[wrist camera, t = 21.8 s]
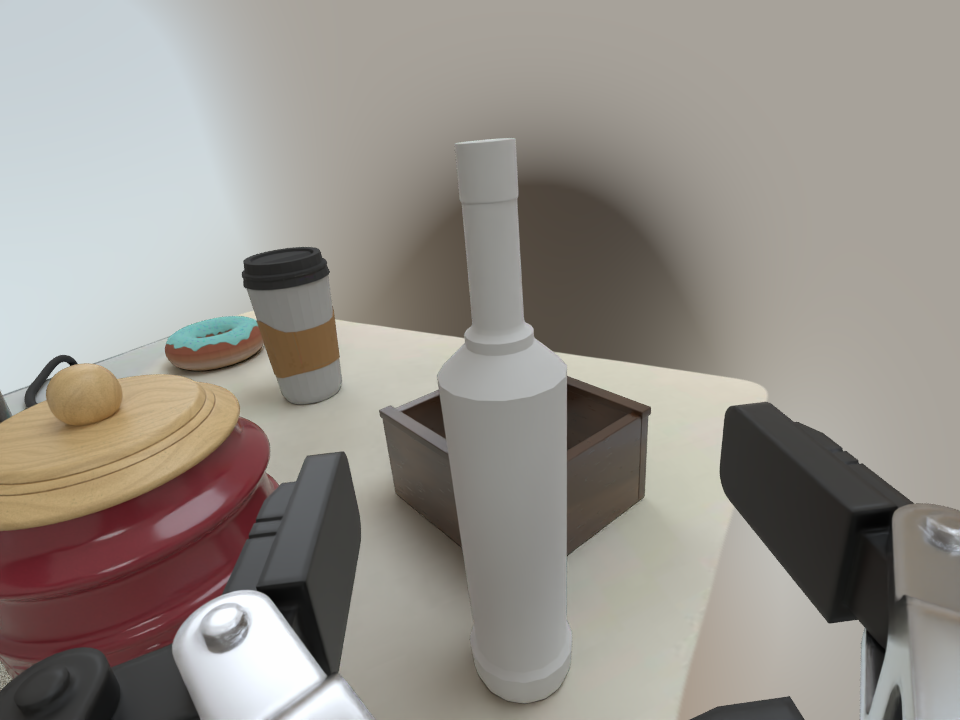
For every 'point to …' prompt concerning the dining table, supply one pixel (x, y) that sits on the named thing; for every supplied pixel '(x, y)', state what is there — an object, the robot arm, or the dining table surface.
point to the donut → (214, 343)
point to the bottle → (507, 447)
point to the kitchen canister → (121, 511)
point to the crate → (590, 459)
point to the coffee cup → (296, 321)
